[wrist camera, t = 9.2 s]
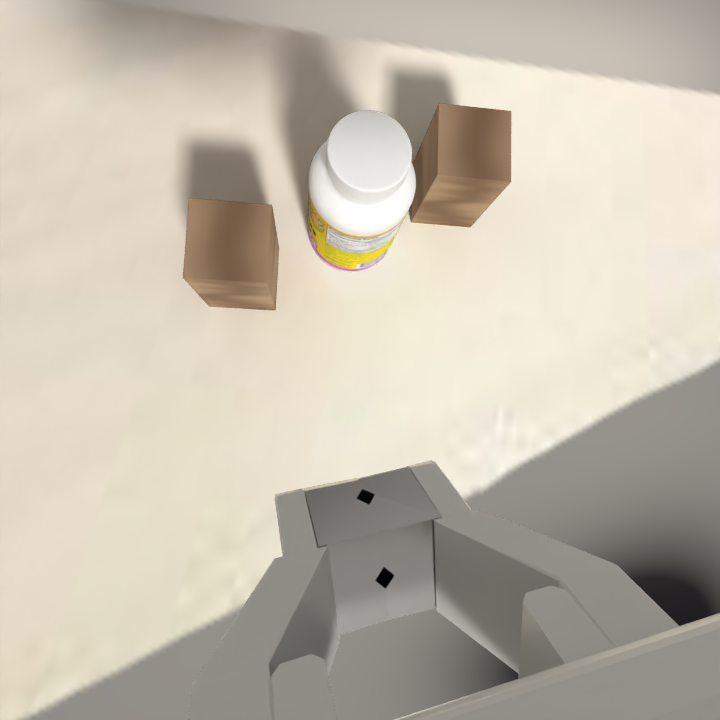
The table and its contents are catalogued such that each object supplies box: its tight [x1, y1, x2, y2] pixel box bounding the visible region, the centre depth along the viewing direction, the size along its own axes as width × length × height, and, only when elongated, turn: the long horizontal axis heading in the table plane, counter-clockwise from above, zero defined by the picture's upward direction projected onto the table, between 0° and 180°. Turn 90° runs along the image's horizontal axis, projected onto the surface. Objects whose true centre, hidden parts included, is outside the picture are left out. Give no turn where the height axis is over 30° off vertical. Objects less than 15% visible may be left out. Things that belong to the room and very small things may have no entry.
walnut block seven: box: [411, 103, 511, 227], centre depth 36 cm, size 5×5×8 cm
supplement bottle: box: [308, 110, 416, 272], centre depth 32 cm, size 7×7×13 cm
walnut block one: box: [183, 198, 279, 310], centre depth 33 cm, size 5×5×8 cm
